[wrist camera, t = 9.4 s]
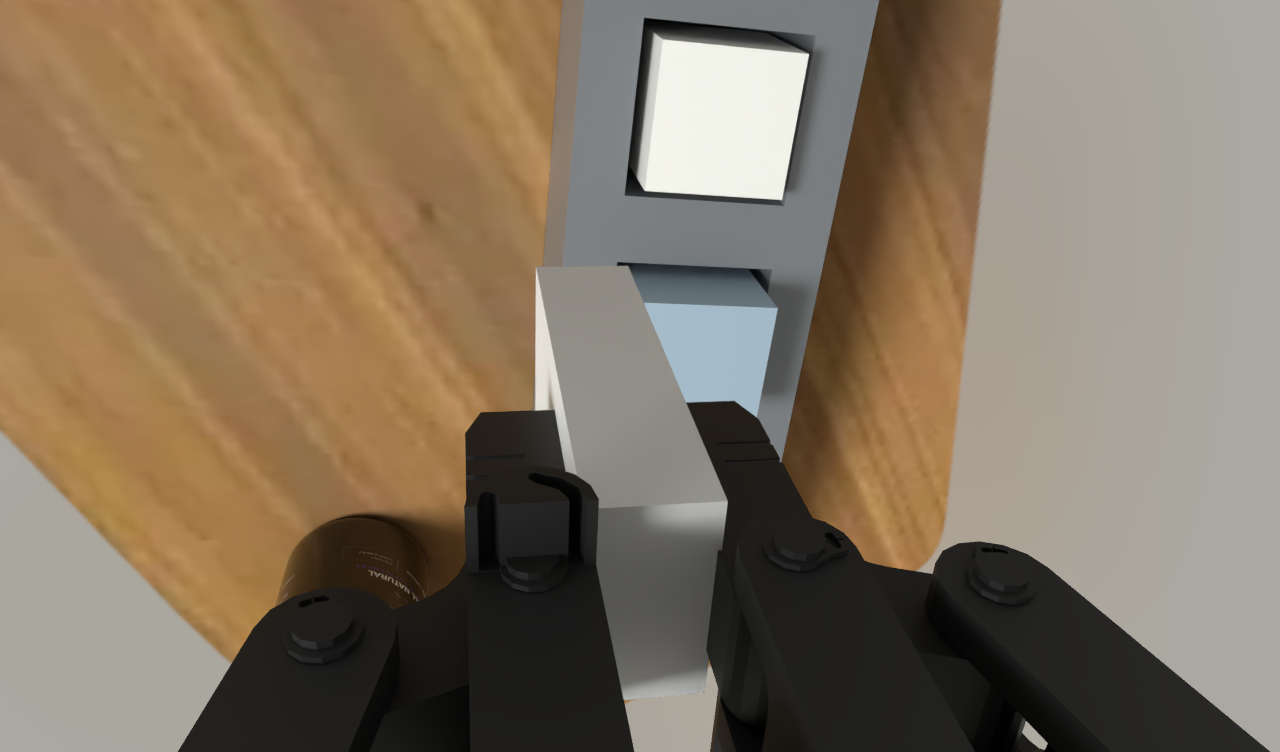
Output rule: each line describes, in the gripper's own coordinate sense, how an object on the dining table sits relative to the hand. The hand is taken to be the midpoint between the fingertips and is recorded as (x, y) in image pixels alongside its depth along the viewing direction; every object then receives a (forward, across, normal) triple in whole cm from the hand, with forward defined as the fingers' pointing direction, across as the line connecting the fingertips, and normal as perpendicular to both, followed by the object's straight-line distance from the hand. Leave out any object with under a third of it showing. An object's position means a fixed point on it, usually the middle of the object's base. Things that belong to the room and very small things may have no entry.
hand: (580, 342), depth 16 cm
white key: (+22, +7, -1) cm, 23 cm away
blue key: (+21, +6, -9) cm, 23 cm away
